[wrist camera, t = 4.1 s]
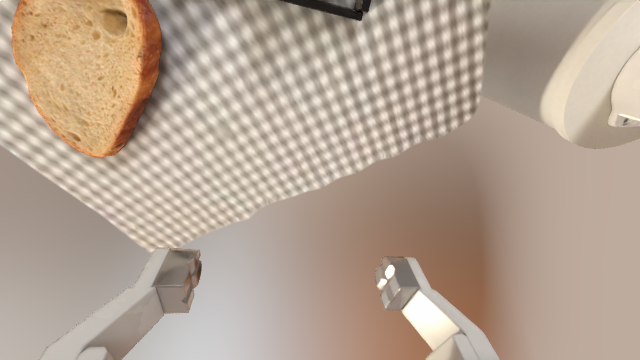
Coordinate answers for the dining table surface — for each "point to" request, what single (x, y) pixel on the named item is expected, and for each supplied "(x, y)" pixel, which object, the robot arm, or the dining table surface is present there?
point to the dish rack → (335, 7)
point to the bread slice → (88, 66)
